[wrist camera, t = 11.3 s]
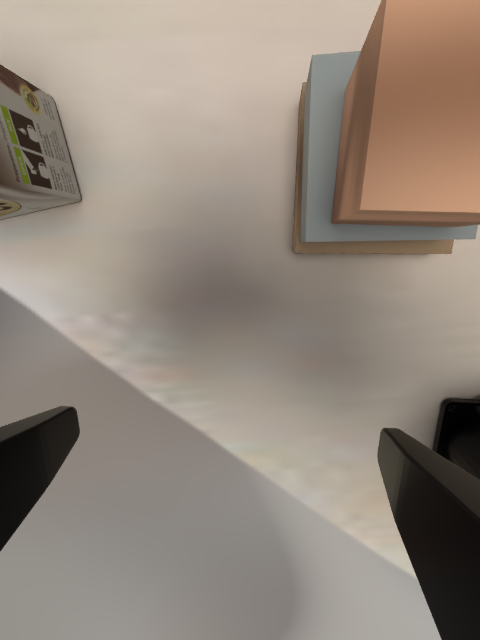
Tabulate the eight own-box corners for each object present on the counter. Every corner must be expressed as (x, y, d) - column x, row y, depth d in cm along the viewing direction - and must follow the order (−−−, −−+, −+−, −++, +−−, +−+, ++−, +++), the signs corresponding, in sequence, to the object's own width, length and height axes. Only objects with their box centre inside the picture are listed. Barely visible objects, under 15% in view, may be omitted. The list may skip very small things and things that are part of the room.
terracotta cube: (455, 227, 12) (564, 214, 8) (330, 223, 13) (359, 209, 8) (483, 87, 11) (633, -32, 6) (344, 90, 12) (388, -16, 7)
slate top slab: (438, 239, 16) (475, 239, 13) (300, 241, 16) (305, 242, 13) (461, 80, 14) (510, 38, 11) (304, 91, 15) (311, 55, 12)
